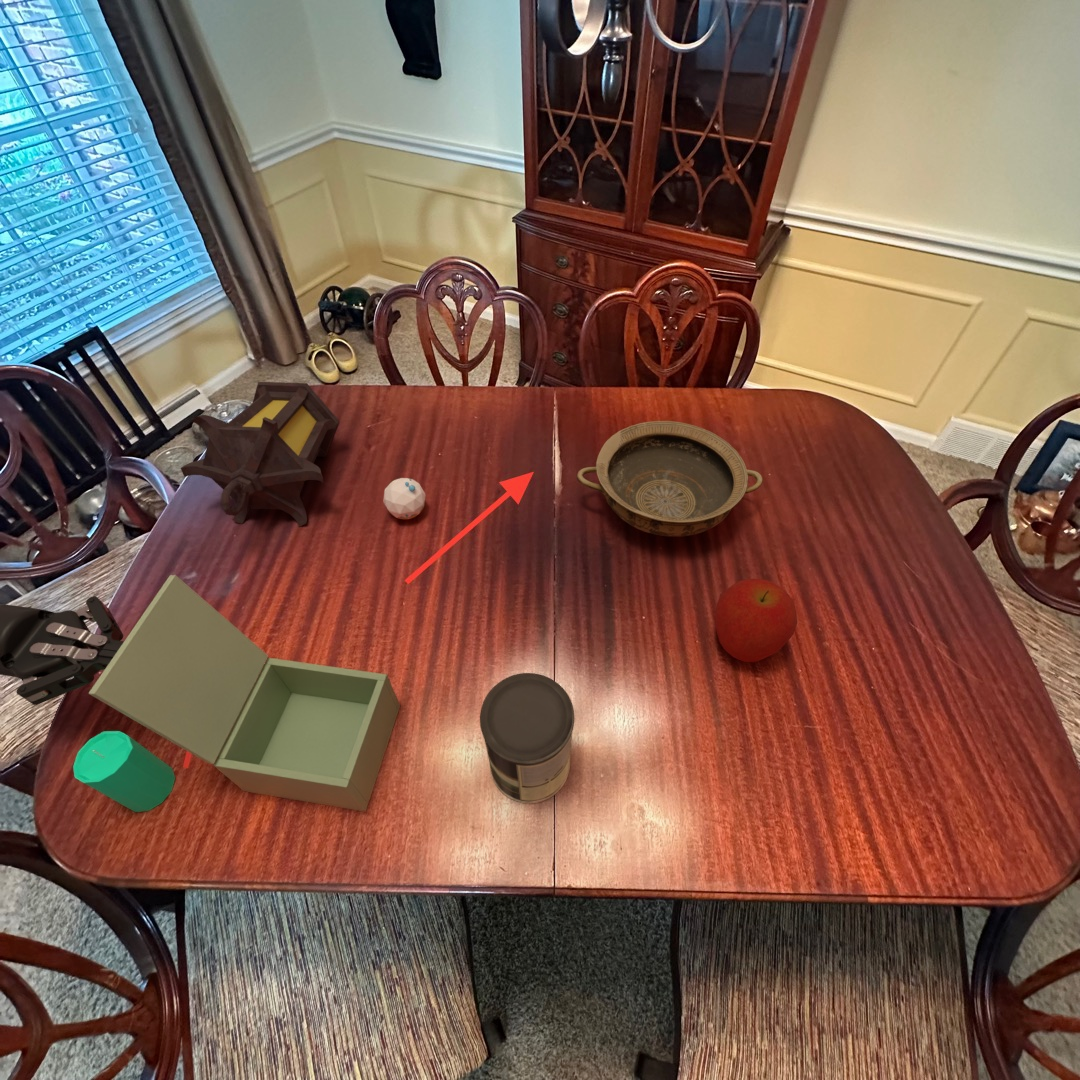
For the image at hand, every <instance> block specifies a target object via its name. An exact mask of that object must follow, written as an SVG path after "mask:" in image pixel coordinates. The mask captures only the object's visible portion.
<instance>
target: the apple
mask: <svg viewBox="0 0 1080 1080" xmlns="http://www.w3.org/2000/svg"><path fill="white" fill-rule="evenodd" d="M713 620H714V624H715V625H714V626H715V630H716V635H717V639H718V643H719V644H720V645H721V646H722V648H723V650H724V651H725V652H727V654H729V655H730V656H731V657H732V658H734V659H736V660H738V661H741V662H743V663H744V662H745V663H756V662H759V661H762V660H763V659H766V658H768V657H771V656H773V655H774V654H776V653H777V652H778V651H780V650H781V649H782V648H783V647H784V646H785V645H786V644H787V642H789V640H790V639H791V638H792V637H793V636H794V634H795V631H796V629H797V625H798V616H797V609H796V605H795V601H794V599H793V598H792V596H791V595H790V594H789V593H788V592H787V590H786V589H784V588H783V587H781V586H779V585H778V584H777V583H775V582H773V581H769V580H766V579H762V578H745V579H742V580H738V581H736V582H735V583H733V584H732V585H731V586H729V587H728V588H727V589H726V590H724V591H723V592H722V593H720V595H719V596H718V600H717V603H716V606H715V612H714V619H713Z"/></svg>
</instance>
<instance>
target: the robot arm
mask: <svg viewBox="0 0 1080 1080" xmlns="http://www.w3.org/2000/svg"><path fill="white" fill-rule="evenodd" d="M85 604H86V606H83V607H82V608H80V609H78V610H77V611H74V610H69V609H68V610H64V611H58V612H55V611H51V610H46V609H42V608H35V607H28V606H27V607H26V606H20V605H13V604H4V603H0V676H5V677H6V676H7V677H13V678H18V679H20V680H21V681H22V684H21V685H20V686H19V687H17V689H16V694H17V695H18V696H20V697H21V698H22V699H24V700H25V701H27V702H29V703H30V704H31V705H33V706H38V705H41V704H43V703H45V702H49V701H51V700H52V699H55V698H58V697H60V696H63V695H64V694H67V693H69V692H73V691H74V690H77V689H79V688H82V687H84V686H87V685H90V684H91V683H92V682H93V681H94V679H95V675H96V674H97V673H98V672H100V671H104V670H105V669H106V667H107V666H108V664H109V663H110V661H111V660H112V658H113V657H114V656H115V654H116V653H117V651H118V650H119V648H120V647H121V645H122V644H123V643H124V641H125V640H124V641H123V639H124V633H123V632H122V630H121V628H120V626H119V624H118V622H117V621H116V619H115V617H114V615H113V614H112V612H111V610H110V608H109V607H107V605H106V604H105V603H104V602H103V600H102V601H101V599H100V598H99V597H98V596H96V595H93V596H90V597H88V598H87V599H86V600H85ZM85 621H89V622H91V623H96V625H97V627H98V629H99V631H100V634H97V633H92V632H91V631H90V628H89V627H88V626H87V624H86V622H85Z"/></svg>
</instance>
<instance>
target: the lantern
mask: <svg viewBox="0 0 1080 1080" xmlns="http://www.w3.org/2000/svg"><path fill="white" fill-rule="evenodd" d="M190 422H191V423H194V424H196V425H197V426H198V427H200V428H201V429H202V430H203V431H204V432H205V434H206V435H207V437H208V441H207V444H206V448H205V453H204V458H201V459H198V460H194V461H191V462H189V463H186V464H184V465H183V466H182V467H180V471H181V473H182V475H183V477H184V478H186V477H189V476H202V477H205V478H208V479H211V480H212V481H213V482H214V483H216V485H218V486H219V487H220V488H221V489H222V492H221V496H220V497H221V498H220V505H221V509H222V510H223V512H224V513H225V515H227V516H233V517H232V521H234V522H236V523H237V524H241V525H243V524H244V522H245V520H246V519H247V517H248V515H249V513H250V511H251V509H257V510H258V509H259V510H278V511H283V512H285V513H287V514H289V515H290V516H291V517H292V518H293V519H294V520H295V521H296V523H297V525H298V528H300V527H302V526H304V525H306V524H307V521H308V516H307V511H306V508H305V506H304V503H303V501H302V498H301V492H302V490H303V487H304V484H305V482H306V481H309V480H310V481H319V482H321V483H324V477H323V474H322V471H321V468H320V467H319V466H318V465H317V464H315V461H316V459H317V457H321V458H324V457H327V455H328V453H329V450H330V447H331V445H332V443H333V440H334V437H335V435H336V432H337V430H338V427H339V424H340V420H339V418H338V417H337V416H336V415H335V414H334V413H333V412H332V410H331V409H330V408H329V406H328V405H327V404H326V403H325V402H324V401H323V400H322V399H321V397H319V395H318V394H317V393H316V392H315V390H313V388H312V387H311V386H310V384H308V382H282V381H281V382H280V381H279V382H277V381H258V382H257V385H256V389H255V392H254V396H253V399H252V403H250V405H248V406H247V407H246V408H245V409H243V410H242V411H240V412H239V413H238V414H237V415H236V416H234V417H233V418H232V419H231V420H229V421H228V422H227V421H224V420H221V419H219V418H217V417H214V416H211V415H208V414H200V415H197V416H195V417H194V418H192V419H191V420H190ZM231 498H232V499H233V500H234V501H235V502H236V503H235V504H234V506H233V507H232V506H231Z"/></svg>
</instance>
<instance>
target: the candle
mask: <svg viewBox="0 0 1080 1080" xmlns="http://www.w3.org/2000/svg"><path fill="white" fill-rule="evenodd" d="M72 768H73V775H74V778H75V779H76V780H78V781H80V782H81V783H83V784H85V785H86V786H88V787H90V788H91V789H94V790H95V791H97V792H98V793H101V794H102V795H104V796H106V797H108V798H109V799H111V800H113V801H114V802H117V803H118V804H120V805H122V806H123V807H125V808H127V809H129V810H130V811H132V812H134V813H141V812H142V813H143V812H149V811H151V810H153V809H154V808H156V807H158V806H159V805H161V804H162V803H164V801H165V800H166V799H167V797H168V796H169V795H170V794H171V792H172V791H173V788H174V784H175V781H176V776H175V773H174V770H173V768H172V767H171V766H170V765H169V764H167V763H166V762H165V761H164V760H162V759H160V758H159V757H158V756H156V755H155V754H154V753H152V752H151V751H150V750H149V749H147V748H146V747H145V746H143V745H142V744H141V743H139V742H138V741H136V740H135V739H134V738H133V737H131V736H129V735H128V734H126V733H124V732H122V731H120V730H106V731H105V730H103V731H102V732H100V733H98V734H96V735H95V736H93V737H92V738H90V739H89V740H87V741H86V743H85V744H84V745H83V746H82V747H81V748H80V749H79V750H78V751H77V754H76V757H75V760H74V763H73V766H72Z"/></svg>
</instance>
